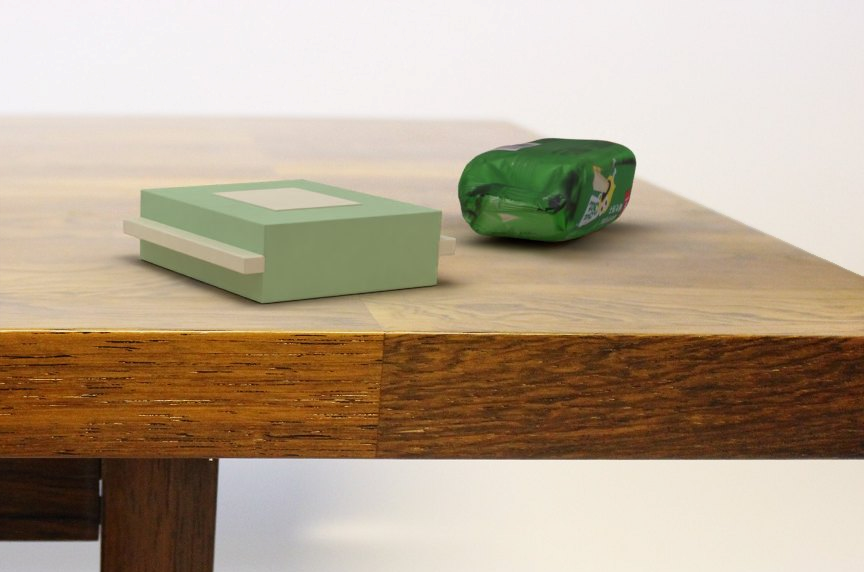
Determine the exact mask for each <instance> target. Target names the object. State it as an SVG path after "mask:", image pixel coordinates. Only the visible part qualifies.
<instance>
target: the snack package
mask: <svg viewBox="0 0 864 572" xmlns="http://www.w3.org/2000/svg"><path fill="white" fill-rule="evenodd" d="M636 169H637V157H636V155H635V153H634V151H632V150H631V148H629V147H628V146H625V145H623V144H621V143H617V142H616V141H615V142H614V141H609V140H604V139H584V138H583V139H581V138H560V137H545V138H538V139H534V140H532V141H527V142H523V143H517V144H510V145H509V144H508V145H502V146H498V147H495V148H493V149H490V150H487V151H485V152H482V153H480V154H478V155H476V156H474V157H473V158H472V159H471V160H470V161H469V162H468V163H467V164H466V165H465V166H464V169H463V171H462V173H461V176H460V178H459V180H458V182H457V183H458V184H457V198H458V201H459V205H460V211H461V215H462V217H463V219H464V221H465V222H466V223H467V224H468V226H469V227H470V229H471V230H472V231H473V232H474V233H476V234H479V235H481V236H486V237H497V238H501V237H502V238H512V239H522V240H531V241H540V242H553V243H554V242H563V241H565V242H566V241H568V240H569V241H570V240H574V239H578V238H582V237H583V236H586V235H589V234H592V233H595V232H596V231H598V230H600V229H602V228H604V227H606V226H608V225H610V224H612V223H613V222H615V221H616V220H617V219H618V218H620V217H621V216H622V214H623V213H624V211H625V210H626V209H627V206H628V205H629V202H630V199H631V195H632V190H633V185H634V179H635V175H636Z"/></svg>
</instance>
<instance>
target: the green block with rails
mask: <svg viewBox="0 0 864 572" xmlns="http://www.w3.org/2000/svg"><path fill="white" fill-rule="evenodd" d="M139 200H140V202H139V204H140V209H139V213H140V215H139V216H131V217H123V219H122V224H123V225H122V233H123V234H125V235H127V236H131V237H134V238H137V239H139V259H140V260H142V261H145V262H147V263H150V264H153V265H156V266H159V267H161V268H164V269H167V270H170V271H172V272H175V273H177V274H181V275H183V276H186V277H189V278H192V279H194V280H196V281H200V282H203V283H205V284H208V285H211V286H213V287H216V288H219V289H222V290H225V291H227V292H230V293H233V294H234V295H235V294H236V295H238V296H241V297H244V298H246V299H249V300H252V301H254V302H257V303H260V304H270V303H278V302H279V303H280V302H289V301H298V300H308V299H316V298H317V299H318V298H327V297H335V296H336V297H337V296H345V295H346V296H347V295H354V294H355V295H356V294H364V293H375V292H382V291H393V290H402V289H410V288H411V289H412V288H422V287H429V286H430V287H431V286H437V284H438V272H439V271H438V270H439V259H440V258H439V257H445V256H455V255H456V248H457V238H455V237H451V236H447V235H445V234H444V235H443V234H441V232H442V231H441V230H442V219H443V211H442V210H440V209H436V208H432V207H427V206H423V205H419V204H414V203H409V202H405V201H401V200H395V199H392V198H387V197H383V196H379V195H373V194H369V193H365V192H360V191H356V190H352V189H347V188H343V187H339V186H335V185H329V184H326V183H321V182H316V181H312V180H307V179H303V178H302V179H287V180H271V181H269V180H268V181H254V182H253V181H252V182H237V183H222V184H221V183H220V184H207V185H188V186H175V187H172V186H171V187H157V188H141V189H140V199H139Z"/></svg>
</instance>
